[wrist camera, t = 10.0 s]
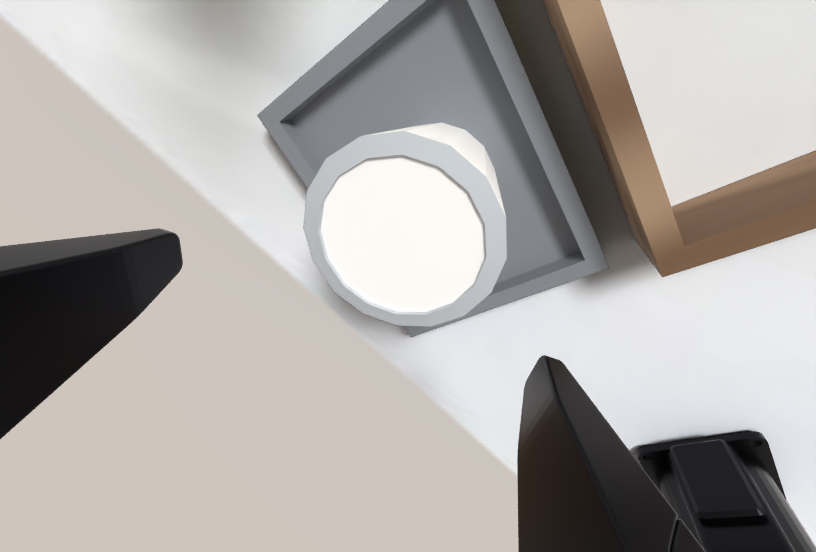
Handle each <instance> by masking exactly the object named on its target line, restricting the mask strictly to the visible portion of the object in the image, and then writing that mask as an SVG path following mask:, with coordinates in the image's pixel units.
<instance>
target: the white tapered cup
mask: <svg viewBox="0 0 816 552" xmlns="http://www.w3.org/2000/svg"><path fill="white" fill-rule="evenodd" d="M303 228H304V232H305V235H306V239H307V242H308V245H309V249H310V252H311V256H312V259H313V262H314V264H315V265H316V267H317V268H318V270H319V271H320V272H321V274H322V275H323V277H324V278H325V279H326V281H327V282H328V284H329V285H330V286H331V288H332V289H333V291H334V292H335V293H337V294H338V295H339V296H341V297H342V298H343V299H344V300H346V301H347V302H348V303H350V304H351V305H352V306H354V307H355V308H356V309H358V310H359V311H360V312H362V313H363V314H366V315H369V316H372V317H374V318H377V319H380V320H383V321H385V322H388V323H391V324H394V325H399V326H430V327H431V326H434V325H437V324H440V323H444V322H447V321H450V320H453V319H456V318H459V317H462V316H465V315H466V314H467V313H468V312H469V311H470V310H472V309H473V308H474V307H475V306H476V305H477V304H479V303H480V302H481V301H482V300H483V299H484V298H486V297H487V296H488V295H489V294H490V293H491V292H492V290H493V288H494V285H495V283H496V281H497V279H498V277H499V275H500V272H501V270H502V268H503V266H504V264H505V261H506V259H507V241H506V215H505V211H504V207H503V203H502V198H501V194H500V190H499V186H498V182H497V178H496V173H495V169H494V167H493V165H492V162H491V160H490V158H489V156H488V154H487V152H486V150H485V147H484V146H483V145H482V144H481V143H480V142H479V141H477V140H476V139H475V138H474V137H473V136H472V135H471V134H469V133H468V132H467V131H466V130H464V129H461V128H458V127H454V126H451V125H448V124H445V123H434V124H426V125H418V126H413V127H407V128H402V129H397V130H391V131H386V132H380V133H375V134H369V135H364V136H360V137H358V138H357V139H355V140H354V141H352V142H351V143H349V144H347V145H346V146H344V147H343V148H341V149H340V150H338V151H337V152H335V153H334V154H332V155H331V156H329V157H328V158H326V159H325V161H324V163H323V164H322V166H321V168H320V170H319V171H318V173H317V175H316V176H315V178H314V180H313V182H312V183H311V185H310V187H309V188H308V190H307V195H306V205H305V216H304V226H303Z"/></svg>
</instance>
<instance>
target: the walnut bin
mask: <svg viewBox="0 0 816 552" xmlns="http://www.w3.org/2000/svg"><path fill="white" fill-rule="evenodd" d="M542 1H543V4H544V6H545V9H546V12H547V14H548V17H549V19H550V22H551V24H552V27H553V29H554V32H555V35H556V37H557V40H558V42H559V45H560V47H561V50H562V52H563V55H564V57H565V60H566V63H567V65H568V68H569V70H570V73H571V75H572V78H573V80H574V83H575V86H576V88H577V91H578V93H579V96H580V98H581V101H582V103H583V106H584V109H585V111H586V114H587V116H588V119H589V121H590V124H591V126H592V129H593V132H594V134H595V137H596V139H597V142H598V144H599V147H600V149H601V152H602V154H603V157H604V160H605V162H606V165H607V167H608V170H609V172H610V175H611V177H612V180H613V183H614V185H615V188H616V190H617V193H618V195H619V198H620V200H621V203H622V206H623V208H624V211H625V213H626V216H627V218H628V221H629V223H630V226H631V229H632V231H633V234H634V236H635V239H636V241H637V243H638V244H639V245H640V247H641V248H642V250H643V251H644V252H645V254H646V255H647V257H648V258H649V259H650V261H651V262H652V264H653V265H654V266H655V268H656V269H657V271H658V272H659V273H660V275H661V276H662V277H665V276H668V275H671V274H674V273H677V272H681V271H684V270H687V269H690V268H693V267H696V266H699V265H702V264H706V263H709V262H712V261H715V260H718V259H721V258H724V257H727V256H731V255H734V254H737V253H740V252H743V251H746V250H749V249H752V248H756V247H759V246H762V245H765V244H768V243H771V242H774V241H777V240H781V239H784V238H787V237H790V236H793V235H796V234H799V233H803V232H806V231H809V230H812V229H815V228H816V151H813V152H811V153H808V154H806V155H803V156H801V157H798V158H796V159H793V160H790V161H788V162H785V163H783V164H780V165H778V166H775V167H773V168H770V169H767V170H765V171H762V172H760V173H757V174H755V175H752V176H749V177H747V178H744V179H742V180H739V181H737V182H734V183H732V184H729V185H726V186H724V187H721V188H719V189H716V190H714V191H711V192H709V193H706V194H703V195H701V196H698V197H696V198H693V199H691V200H688V201H686V202H683V203H680V204H678V205H675V206H673V207H671V205H670V202H669V199H668V196H667V194H666V191H665V188H664V185H663V182H662V179H661V176H660V173H659V170H658V167H657V164H656V162H655V159H654V156H653V153H652V150H651V147H650V144H649V141H648V138H647V135H646V132H645V130H644V127H643V124H642V121H641V118H640V115H639V112H638V109H637V106H636V103H635V100H634V98H633V95H632V92H631V89H630V86H629V83H628V80H627V77H626V74H625V71H624V68H623V66H622V63H621V60H620V57H619V54H618V51H617V48H616V45H615V42H614V39H613V37H612V34H611V31H610V28H609V25H608V22H607V19H606V16H605V13H604V10H603V7H602V5H601V2H600V0H542Z"/></svg>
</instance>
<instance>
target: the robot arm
mask: <svg viewBox="0 0 816 552" xmlns="http://www.w3.org/2000/svg"><path fill="white" fill-rule="evenodd" d="M182 264H183V261H182V254H181V246H180V240H179V237H178V236H177V235H176V234H175V233H173V232H170V231H167V230H164V229H150V230H141V231H133V232H123V233H115V234H106V235H97V236H89V237H80V238H71V239H62V240H53V241H45V242H36V243H27V244H18V245H9V246H1V247H0V439H1V438H2V437H3V436H4V435H6V434H7V433H8V432H9V431H10V430H11V429H12V428H13V427H15V426H16V425H17V424H18V423H19V422H20V421H21V420H22V419H24V418H25V417H26V416H27V415H28V414H29V413H30V412H31V411H32V410H34V409H35V408H36V407H37V406H38V405H39V404H40V403H41V402H43V401H44V400H45V399H46V398H47V397H48V396H49V395H51V394H52V393H53V392H54V391H55V390H56V389H57V388H58V387H59V386H61V385H62V384H63V383H64V382H65V381H66V380H67V379H69V378H70V377H71V376H72V375H73V374H74V373H75V372H76V371H78V370H79V369H80V368H81V367H82V366H83V365H84V364H85V363H86V362H88V361H89V360H90V359H91V358H92V357H93V356H94V355H95V354H97V353H98V352H99V351H100V350H101V349H102V348H103V347H104V346H106V345H107V344H108V343H109V342H110V341H111V340H112V339H113V338H115V337H116V336H117V335H118V334H119V333H120V332H121V331H122V330H124V329H125V328H126V327H127V326H128V325H129V324H130V323H131V322H132V321H133V320H134V319H136V318H137V317H138V316H139V315H140V314H141V313H142V312H143V311H144V310H145V308H146V307H147V306H148V305H149V304H150V303H151V302H152V301H153V300H154V299H155V298H156V297H157V296H158V294H159V293H160V292H161V291H162V290H163V289H164V288H165V287H166V286H167V285H168V283H170V281H171V280H172V279H173V278H174V277H175V276H176V275H177V274H178V273H179V272H180V270H181V268H182ZM636 453H637V456H638V459H639V461H640V463H641V465H642V467H643V468H642V467H641V466H640V464H639V463H638V462H637V460H636V459H635V458H634V456H633V455H632V454H631V452H630V451H629V450H628V448H627V447H626V446H625V444H624V443H623V442H622V440H621V439H620V438H619V436H618V435H617V434H616V432H615V431H614V430H613V429H612V427H611V426H610V425H609V423H608V422H607V421H606V419H605V418H604V417H603V415H602V414H601V413H600V411H599V410H598V409H597V407H596V406H595V405H594V403H593V402H592V401H591V399H590V398H589V397H588V395H587V394H586V393H585V391H584V390H583V389H582V388H581V386H580V385H579V384H578V382H577V381H576V380H575V378H574V377H573V376H572V374H571V373H570V372H569V370H568V369H567V368H566V366H565V365H564V364H563V363H562V362H561V361H560V360H558V359H555V358H551V357H548V356H545V355H544V356H541V357H540V358H539V360H538V361H537V363H536V365H535V366H534V368H533V370H532V372H531V373H530V375H529V377H528V379H527V381H526V384H525V387H524V395H523V404H522V414H521V423H520V433H519V442H518V535H519V536H518V537H519V552H816V547H815V545H814V543H813V542H812V540H811V539H810V537H809V536H808V534H807V532H806V531H805V529H804V528H803V526H802V524H801V523H800V521H799V520H798V518H797V517H796V515H795V513H794V512H793V510H792V509H791V507H790V506H789V504H788V502H787V500H786V497H785V494H784V491H783V488H782V485H781V482H780V479H779V476H778V472H777V469H776V466H775V463H774V460H773V457H772V454H771V451H770V448H769V445H768V442H767V440H766V439H765V437H764V436H763V435H762V434H761V433H759V432H755V431H752V432H744V433H737V434H730V435H723V436H716V437H708V438H701V439H694V440H687V441H680V442H673V443H666V444H659V445H652V446H645V447H640V448H638V449H637V451H636ZM643 469H644V470H643Z"/></svg>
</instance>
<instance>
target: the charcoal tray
mask: <svg viewBox="0 0 816 552" xmlns="http://www.w3.org/2000/svg"><path fill="white" fill-rule="evenodd" d="M257 116H258V118H259V119H260V120H261V122H262V123H263V125H264V126H265V128H266V129H267V131H268V132H269V133H270V135H271V136H272V138H273V139H274V141H275V142H276V144H277V145H278V146H279V148H280V149H281V151H282V152H283V154H284V155H285V157H286V158H287V159H288V161H289V162H290V164H291V165H292V167H293V168H294V170H295V171H296V172H297V174H298V175H299V177H300V178H301V180H302V181H303V182H304V184H305V185H306V187H307V188H309V187H310V185H311V183H312V182H313V180H314V178H315V176H316V175H317V173H318V171H319V170H320V168H321V166H322V164H323V163H324V161H325V159H326V158H328V157H329V156H331V155H332V154H334V153H335V152H337V151H338V150H340V149H341V148H343V147H344V146H346V145H347V144H349V143H351V142H352V141H354V140H355V139H357V138H358V137H360V136H364V135H369V134H375V133H380V132H386V131H391V130H397V129H402V128H407V127H413V126H418V125H426V124H434V123H445V124H448V125H451V126H454V127H458V128H461V129H464V130H466V131H467V132H468V133H469V134H471V135H472V136H473V137H474V138H475V139H476V140H477V141H479V142H480V143H481V144H482V145H483V146H484V147H485V150H486V152H487V154H488V156H489V158H490V160H491V162H492V165H493V167H494V169H495V173H496V178H497V182H498V186H499V190H500V194H501V198H502V203H503V207H504V211H505V215H506V241H507V259H506V261H505V264H504V266H503V268H502V270H501V272H500V275H499V277H498V279H497V281H496V283H495V285H494V288H493V290H492V292H491V293H490V294H489V295H488V296H487V297H486V298H484V299H483V300H482V301H481V302H480V303H479V304H477V305H476V306H475V307H474V308H473V309H472V310H470V311H469V312H468V313H467V314H466V315H465V316H462V317H459V318H456V319H453V320H450V321H447V322H444V323H440V324H437V325H434V326H431V327H430V326H403V327H404V328H405V330H406V331H407V332H408V334H409V335H410V337H413V336H416V335H419V334H422V333H425V332H428V331H431V330H433V329H436V328H439V327H442V326H445V325H448V324H451V323H454V322H456V321H459V320H462V319H465V318H468V317H471V316H474V315H476V314H479V313H482V312H485V311H488V310H491V309H494V308H496V307H499V306H502V305H505V304H508V303H511V302H514V301H516V300H519V299H522V298H525V297H528V296H531V295H534V294H536V293H539V292H542V291H545V290H548V289H551V288H554V287H557V286H559V285H562V284H565V283H568V282H571V281H574V280H577V279H579V278H582V277H585V276H588V275H591V274H594V273H597V272H599V271H602V270H605V269H608V268H610V267H609V265H608V262H607V260H606V258H605V255H604V253H603V251H602V248H601V246H600V244H599V241H598V239H597V237H596V234H595V232H594V230H593V227H592V225H591V223H590V221H589V218H588V216H587V214H586V211H585V209H584V207H583V204H582V202H581V200H580V197H579V195H578V193H577V190H576V188H575V186H574V183H573V181H572V179H571V176H570V174H569V172H568V169H567V167H566V165H565V163H564V160H563V158H562V156H561V153H560V151H559V149H558V146H557V144H556V142H555V139H554V137H553V135H552V132H551V130H550V128H549V125H548V123H547V121H546V118H545V116H544V114H543V111H542V109H541V107H540V105H539V102H538V100H537V98H536V95H535V93H534V91H533V88H532V86H531V84H530V81H529V79H528V77H527V74H526V72H525V70H524V67H523V65H522V63H521V60H520V58H519V56H518V53H517V51H516V49H515V47H514V44H513V42H512V40H511V37H510V35H509V33H508V30H507V28H506V26H505V23H504V21H503V19H502V16H501V14H500V12H499V9H498V7H497V5H496V2H495V0H389V1H388V2H387V3H386V4H384V5H383V6H382V7H381V8H380V9H379V10H378V11H376V12H375V13H374V14H373V15H372V16H371V17H370V18H368V19H367V20H366V21H365V22H364V23H363V24H361V25H360V26H359V27H358V28H357V29H356V30H355V31H353V32H352V33H351V34H350V35H349V36H348V37H347V38H345V39H344V40H343V41H342V42H341V43H340V44H338V45H337V46H336V47H335V48H334V49H333V50H332V51H330V52H329V53H328V54H327V55H326V56H325V57H324V58H322V59H321V60H320V61H319V62H318V63H317V64H316V65H314V66H313V67H312V68H311V69H310V70H309V71H307V72H306V73H305V74H304V75H303V76H302V77H301V78H299V79H298V80H297V81H296V82H295V83H294V84H293V85H291V86H290V87H289V88H288V89H287V90H286V91H285V92H283V93H282V94H281V95H280V96H279V97H278V98H276V99H275V100H274V101H273V102H272V103H271V104H270V105H268V106H267V107H266V108H265V109H264V110H263V111H262V112H260V113H259V114H258V115H257Z"/></svg>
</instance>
